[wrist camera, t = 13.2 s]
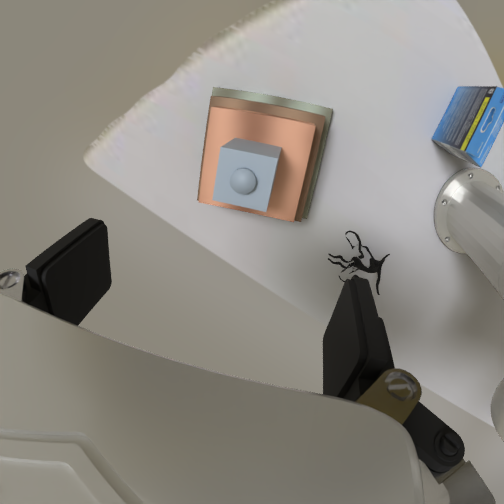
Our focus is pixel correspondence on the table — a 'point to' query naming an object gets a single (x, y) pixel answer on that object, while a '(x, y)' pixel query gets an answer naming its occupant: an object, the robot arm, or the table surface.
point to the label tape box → (471, 123)
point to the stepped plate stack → (269, 132)
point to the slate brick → (246, 173)
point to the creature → (374, 264)
